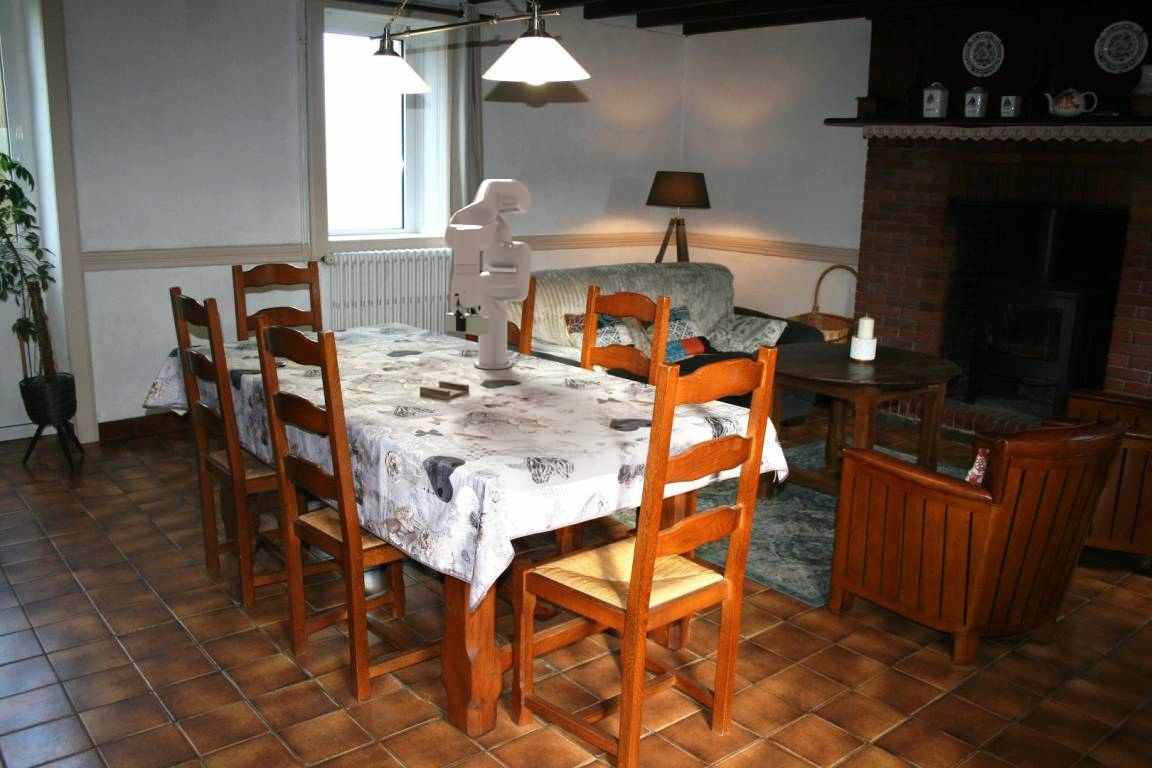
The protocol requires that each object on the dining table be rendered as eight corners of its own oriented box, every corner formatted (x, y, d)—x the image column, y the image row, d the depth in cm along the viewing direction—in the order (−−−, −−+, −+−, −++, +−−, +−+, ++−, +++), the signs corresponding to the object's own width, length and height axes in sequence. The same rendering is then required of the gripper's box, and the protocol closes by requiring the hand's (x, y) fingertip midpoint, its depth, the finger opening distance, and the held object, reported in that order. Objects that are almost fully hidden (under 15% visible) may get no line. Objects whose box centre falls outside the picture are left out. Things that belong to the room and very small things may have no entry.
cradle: (442, 388, 297) (442, 380, 297) (469, 392, 293) (468, 384, 292) (419, 395, 289) (419, 387, 288) (447, 400, 284) (447, 391, 283)
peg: (457, 328, 302) (457, 311, 301) (489, 333, 293) (489, 317, 292) (445, 329, 299) (445, 313, 297) (477, 335, 290) (477, 318, 289)
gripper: (473, 266, 301) (473, 325, 305) (438, 271, 287) (439, 332, 290) (493, 268, 297) (493, 327, 301) (459, 272, 283) (460, 335, 287)
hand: (467, 329), depth 296 cm, fingers closed on peg, 5 cm apart
